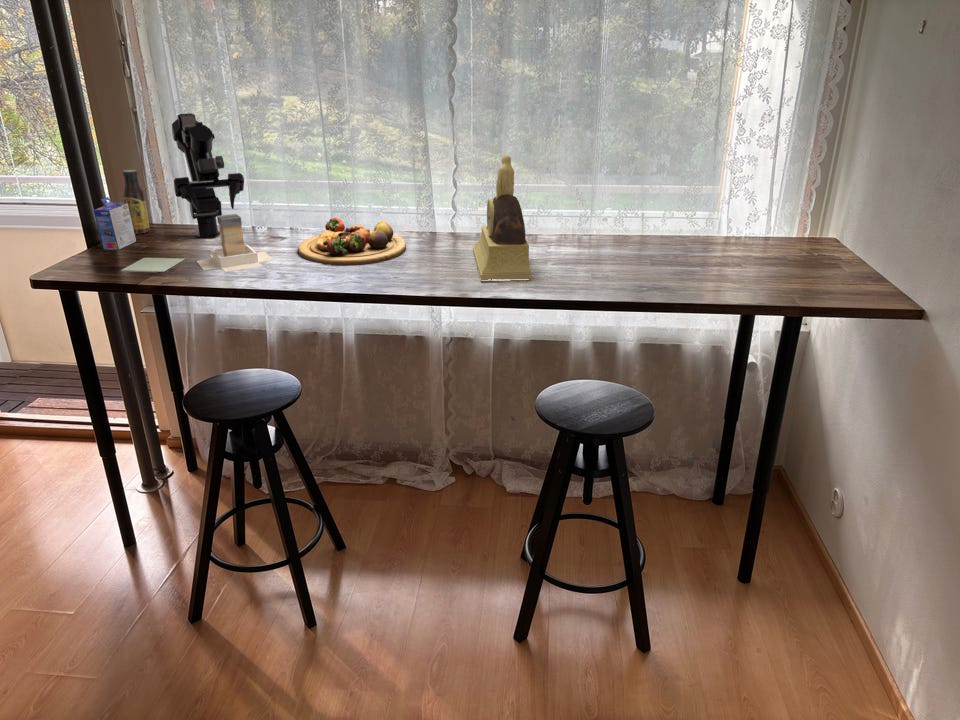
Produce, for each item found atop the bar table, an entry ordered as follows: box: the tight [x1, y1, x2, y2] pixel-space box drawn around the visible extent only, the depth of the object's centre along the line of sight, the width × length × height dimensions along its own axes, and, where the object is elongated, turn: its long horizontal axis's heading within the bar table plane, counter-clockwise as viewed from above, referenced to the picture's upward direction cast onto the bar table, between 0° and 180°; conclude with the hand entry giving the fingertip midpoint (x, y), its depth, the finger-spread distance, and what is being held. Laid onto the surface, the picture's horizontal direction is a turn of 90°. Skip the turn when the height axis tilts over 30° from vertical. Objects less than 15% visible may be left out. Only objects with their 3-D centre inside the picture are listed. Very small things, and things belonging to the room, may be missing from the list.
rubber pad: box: [121, 257, 185, 273], centre depth 196 cm, size 12×12×1 cm
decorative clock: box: [472, 154, 531, 280], centre depth 190 cm, size 28×13×30 cm, turn 5°
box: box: [216, 213, 245, 257], centre depth 197 cm, size 5×5×12 cm
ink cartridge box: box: [93, 196, 137, 251], centre depth 212 cm, size 10×6×14 cm, turn 174°
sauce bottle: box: [122, 169, 150, 235], centre depth 225 cm, size 7×6×20 cm
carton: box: [196, 244, 275, 273], centre depth 199 cm, size 19×19×3 cm
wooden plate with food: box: [297, 216, 407, 266], centre depth 210 cm, size 32×32×8 cm
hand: (216, 209), depth 199 cm, fingers open, 9 cm apart
